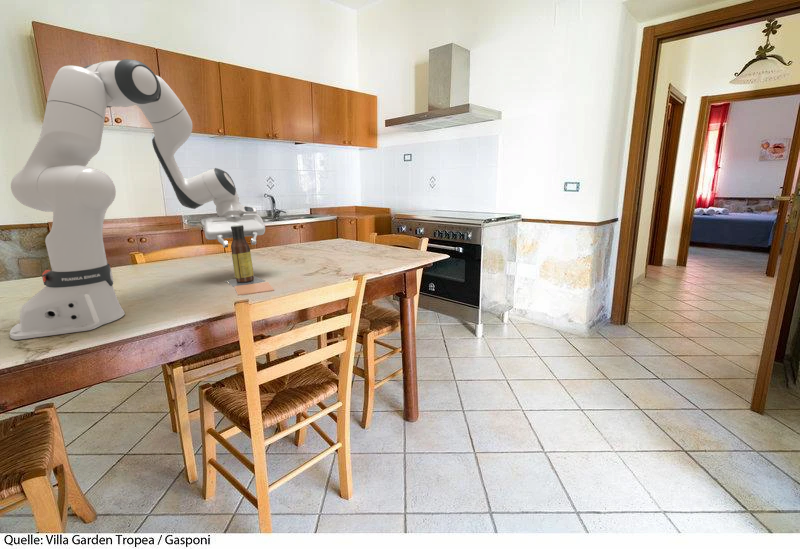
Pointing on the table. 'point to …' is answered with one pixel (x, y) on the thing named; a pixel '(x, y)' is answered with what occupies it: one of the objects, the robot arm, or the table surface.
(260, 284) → the terracotta tile
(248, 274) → the sauce bottle
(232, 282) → the slate tile
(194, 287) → the table surface
